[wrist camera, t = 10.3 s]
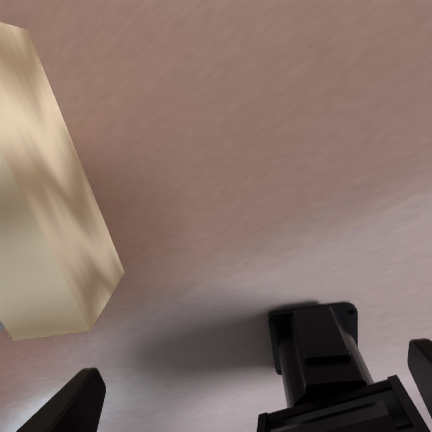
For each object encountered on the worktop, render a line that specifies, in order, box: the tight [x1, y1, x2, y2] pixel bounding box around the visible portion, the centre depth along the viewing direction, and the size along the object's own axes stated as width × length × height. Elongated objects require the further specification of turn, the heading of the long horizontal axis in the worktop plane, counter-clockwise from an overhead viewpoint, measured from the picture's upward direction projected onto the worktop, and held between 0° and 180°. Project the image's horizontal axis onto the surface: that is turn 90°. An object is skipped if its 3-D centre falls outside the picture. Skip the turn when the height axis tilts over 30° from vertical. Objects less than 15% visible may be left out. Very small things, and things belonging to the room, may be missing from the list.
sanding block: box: [0, 22, 125, 341], centre depth 17 cm, size 16×5×6 cm, turn 12°
